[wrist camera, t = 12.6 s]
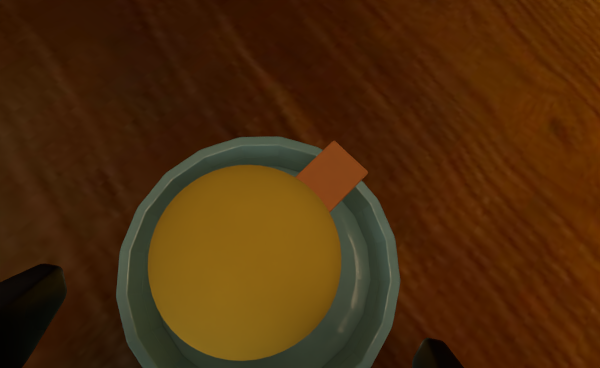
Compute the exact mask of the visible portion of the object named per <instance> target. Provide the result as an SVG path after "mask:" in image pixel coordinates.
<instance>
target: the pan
mask: <svg viewBox="0 0 600 368" xmlns="http://www.w3.org/2000/svg"><path fill="white" fill-rule="evenodd" d="M322 151H323V150H321V149H320V148H317V147H315V146H311V145H308V144H304V143H301V142H297V141H294V140H290V139H286V138H283V137H240V138H236V139H233V140H230V141H227V142H223V143H220V144H217V145H214V146H211V147H208V148H205V149H202V150H199V151H198V152H196V153H195V154H193V155H192V156H190V157H189V158H187V159H186V160H185V161H183V162H182V163H180V164H179V165H177V166H176V167H174V168H173V169H171V170H170V171H168V172H167V173H166V174H165V175H164V176H163V177H162V178H161V180H160V181H159V182H158V183H157V184H156V186H155V187H154V188H153V189H152V191H151V192H150V193H149V194H148V195H147V197H146V198H145V199H144V200H143V202H142V203H141V204H140V205H139V206H138V208H137V210H136V212H135V215H134V217H133V220H132V222H131V225H130V227H129V229H128V232H127V234H126V237H125V239H124V242H123V244H122V246H121V249H120V256H119V268H118V279H117V291H116V299H117V303H118V308H119V312H120V316H121V320H122V324H123V328H124V332H125V337H126V341H127V343H128V346H129V347H130V349H131V350H132V352H133V354H134V355H135V357H136V358H137V360H138V361H139V363H140V364H141V366H142V367H143V368H371V366H372V364H373V362H374V360H375V358H376V356H377V355H378V353H379V351H380V349H381V347H382V345H383V343H384V341H385V339H386V337H387V336H388V334H389V332H390V330H391V328H392V325H393V319H394V314H395V308H396V303H397V297H398V292H399V286H400V275H399V267H398V259H397V250H396V242H395V239H394V238H395V237H394V235H393V232H392V230H391V228H390V226H389V223H388V221H387V219H386V216H385V214H384V212H383V210H382V207H381V205H380V203H379V201H378V199H377V198H376V197H375V195H374V194H373V193H372V192H371V191H370V190H369V188H368V187H367V186H366V185H365V184H364V183H363V181H362V180H361V181H360V182H359V183H358V184H357V185H356V186H355V187H354V188H353V189H352V190H351V192H350V193H349V194H348V195H347V196H346V197H345V198H344V199H343V200H342V201H341V202H340V203H339V204H338V205H337V206H336V207H335V208H334V209H333V210H332V211H331V212H330V215H331V217H332V219H333V221H334V223H335V226H336V229H337V232H338V236H339V241H340V247H341V274H340V280H339V285H338V289H337V292H336V295H335V298H334V300H333V302H332V305H331V307H330V308H329V310H328V312H327V313H326V315H325V317H324V318H323V319H322V321H321V322H320V323H319V324H318V326H317V327H316V328H315V329H314V330H313V331H312V332H311V333H310V334H309V335H307V336H306V337H305V338H303V339H302V340H301V341H299V342H298V343H297V344H295V345H294V346H292V347H290V348H288V349H286V350H285V351H283V352H280V353H277V354H275V355H272V356H270V357H265V358H261V359H257V360H247V361H236V360H226V359H221V358H216V357H213V356H210V355H207V354H205V353H202V352H200V351H199V350H197V349H195V348H193V347H191V346H190V345H188V344H187V343H186V342H184V341H183V340H182V339H180V338H179V337H178V336H177V335H176V334H175V333H174V332H173V331H172V330H171V329H170V327H169V326H168V325H167V323H166V322H165V321H164V319H163V318H162V316H161V314H160V312H159V310H158V309H157V307H156V304H155V301H154V299H153V296H152V292H151V288H150V284H149V276H148V254H149V248H150V242H151V239H152V236H153V233H154V230H155V227H156V225H157V223H158V221H159V219H160V217H161V215H162V214H163V212H164V210H165V209H166V207H167V206H168V205H169V204H170V202H171V201H172V200H173V198H174V197H175V196H176V195H177V194H178V193H179V192H180V191H182V190H183V189H184V188H185V187H186V186H188V185H189V184H190V183H192V182H193V181H195V180H196V179H198V178H200V177H201V176H203V175H205V174H208V173H210V172H212V171H215V170H218V169H222V168H225V167H230V166H236V165H261V166H266V167H271V168H275V169H278V170H280V171H283V172H286V173H288V174H290V175H292V176H294V177H296V176H297V175H298V174H299V173H300V172H301V171H302V170H303V169H304V168H305V167H306V166H307V165H308V164H309V163H310V162H311V161H312V160H313V159H314V158H316V157H317V156H318V155H319V154H320V153H321V152H322Z"/></svg>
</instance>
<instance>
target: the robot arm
mask: <svg viewBox="0 0 600 368" xmlns="http://www.w3.org/2000/svg"><path fill="white" fill-rule="evenodd" d="M66 293H67V288H66V283H65V279H64V275H63V270H62V269H61V267H59V266H55V265H50V264H39V265H37V266H35V267H33V268H30V269H28V270H26V271H24V272H22V273H20V274H17V275H15V276H13V277H11V278H9V279H7V280H4V281H2V282H0V368H22V367H23V365H24V364H25V362H26V361H27V360H28V358H29V356H30V355H31V353H32V352H33V350H34V349H35V347H36V345H37V344H38V342H39V340H40V339H41V337H42V335H43V334H44V332H45V331H46V329H47V327H48V326H49V324H50V322H51V321H52V319H53V317H54V316H55V314H56V312H57V311H58V309H59V307H60V306H61V304H62V303H63V301H64V299H65V297H66ZM412 368H464V367H463V366H462V365H461V363H460V362H459V361H458V359H457V358H456V357H455V356H454V354H453V353H452V352H451V350H450V349H449V348H448V347H447V345H446V344H445V343H444V342H443V341H441V340H437V339H432V338H426V339H424V340H423V342H422V344H421V345H420V347H419V349H418V351H417V352H416V354H415V356H414V358H413V364H412Z"/></svg>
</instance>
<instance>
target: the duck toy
mask: <svg viewBox="0 0 600 368" xmlns="http://www.w3.org/2000/svg"><path fill="white" fill-rule="evenodd" d="M367 173H368V172H367V171H366V170H365V169H364V168H363V167H362V166H361V165H360V164H359V163H358V162H357V161H356V160H355V159H354V158H353V157H351V156H350V155H349V154H348V153H347V152H346V151H345V150H344V149H343V148H342V147H341V146H340V145H339V144H338V143H336V142H335V141H332V142H331V143H330V144H329V145H328V146H327V147H326V148H325V149H324V150H323V151H322V152H321V153H320V154H319V155H318V156H317V157H316V158H314V159H313V160H312V161H311V162H310V163H309V164H308V165H307V166H306V167H305V168H304V169H303V170H302V171H301V172H300V173H299V174H298V175H297V176H296V177H294V176H292V175H290V174H288V173H286V172H283V171H280V170H278V169H275V168H271V167H266V166H261V165H236V166H230V167H225V168H222V169H218V170H215V171H212V172H210V173H208V174H205V175H203V176H201V177H200V178H198V179H196V180H195V181H193V182H192V183H190V184H189V185H188V186H186V187H185V188H184V189H183V190H182V191H180V192H179V193H178V194H177V195H176V196H175V197H174V198H173V200H172V201H171V202H170V204H169V205H168V206H167V207H166V209H165V210H164V212H163V214H162V215H161V217H160V219H159V221H158V223H157V225H156V227H155V230H154V233H153V236H152V239H151V242H150V248H149V254H148V276H149V284H150V288H151V292H152V296H153V299H154V301H155V304H156V307H157V309H158V310H159V312H160V314H161V316H162V318H163V319H164V321H165V322H166V323H167V325H168V326H169V327H170V329H171V330H172V331H173V332H174V333H175V334H176V335H177V336H178V337H179V338H180V339H182V340H183V341H184V342H186V343H187V344H188V345H190V346H191V347H193V348H195V349H197V350H199V351H200V352H202V353H205V354H207V355H210V356H213V357H216V358H221V359H226V360H236V361H247V360H257V359H261V358H265V357H270V356H272V355H275V354H277V353H280V352H283V351H285V350H286V349H288V348H290V347H292V346H294V345H295V344H297V343H298V342H299V341H301V340H302V339H303V338H305V337H306V336H307V335H309V334H310V333H311V332H312V331H313V330H314V329H315V328H316V327H317V326H318V324H319V323H320V322H321V321H322V319H323V318H324V317H325V315H326V313H327V312H328V310H329V308H330V307H331V305H332V302H333V300H334V298H335V295H336V292H337V289H338V285H339V280H340V274H341V247H340V241H339V236H338V232H337V229H336V226H335V223H334V221H333V219H332V217H331V215H330V212H331V211H332V210H333V209H334V208H335V207H336V206H337V205H338V204H339V203H340V202H341V201H342V200H343V199H344V198H345V197H346V196H347V195H348V194H349V193H350V192H351V190H352V189H353V188H354V187H355V186H356V185H357V184H358V183H359V182H360V181H361V180H362V179H363V178H364V177H365V176H366V175H367Z"/></svg>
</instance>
